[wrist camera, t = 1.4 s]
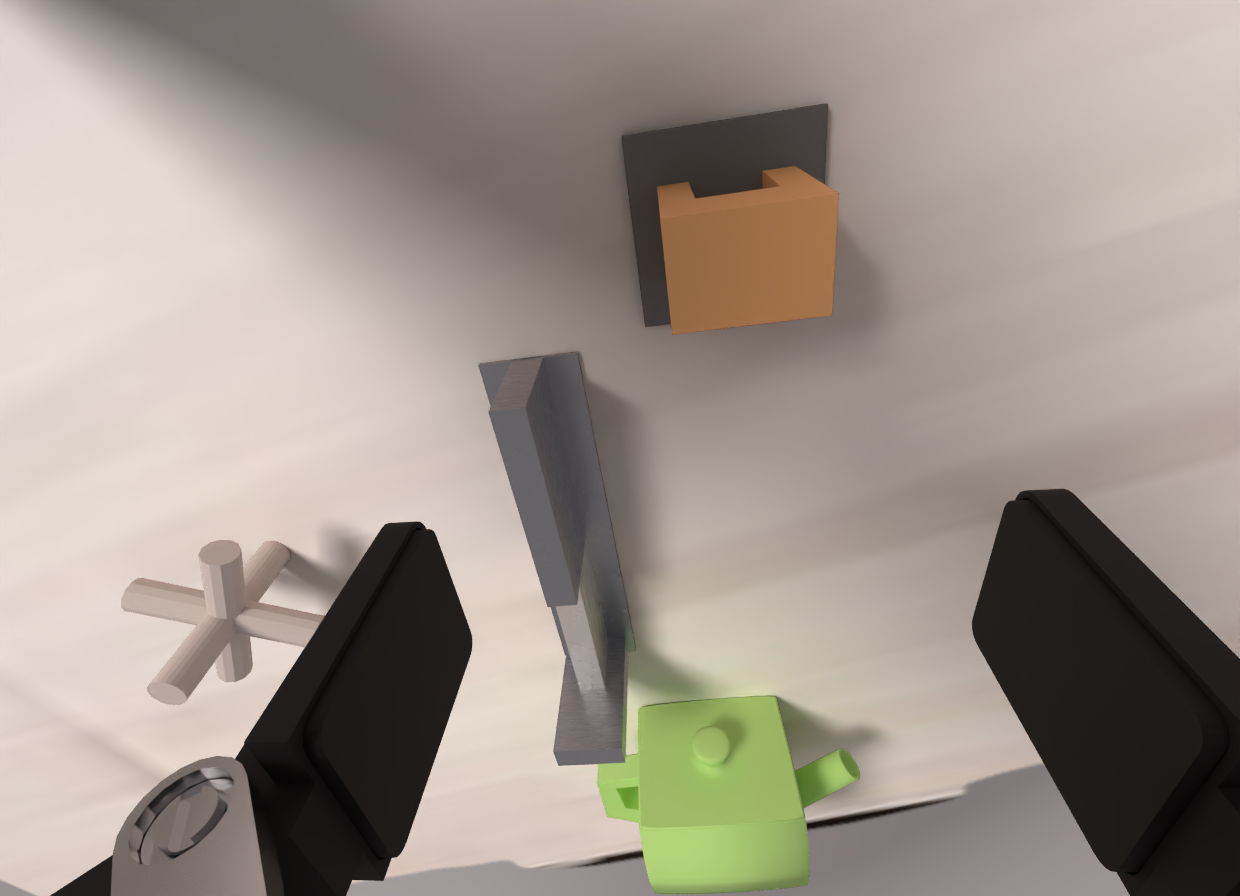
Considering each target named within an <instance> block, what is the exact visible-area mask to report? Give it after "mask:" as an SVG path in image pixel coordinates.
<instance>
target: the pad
mask: <svg viewBox="0 0 1240 896" xmlns="http://www.w3.org/2000/svg"><path fill="white" fill-rule="evenodd" d="M827 114H828V104H820V105H814V106H807V107H801V108H795V109H789V110H782V111H776V112H770V113H763V114H757V115H751V116H745V117H738V118H732V119H726V120H720V121H713V122H707V123H701V124H694V125H688V126H682V127H676V128H669V129H663V130H657V131H651V132H644V133H638V134H632V135H625V136H622V145H623V153H624V161H625V169H626V177H627V185H628V193H629V201H630V209H631V217H632V224H633V232H634V240H635V248H636V256H637V264H638V272H639V280H640V288H641V296H642V304H643V312H644V320H645V327H649V326H657V325H665V324H671V319H670V309H669V300H668V291H667V281H666V271H665V261H664V251H663V241H662V232H661V222H660V212H659V202H658V192H657V186H664V185H670V184H677V183H684V182H689V185H690V187H691V190H692V192H693V195H694V197H695V199H696V198H703V197H710V196H717V195H724V194H731V193H738V192H744V191H751V190H758V189H763V185H762V171H764V170H771V169H778V168H784V167H791V166H796V167H798V168H799V169H801V170H802V171H804V172H806V173H807V174H809V175H810V176H812V177H814V178H815V179H817V180H818V181H820V182H822V183H823V184H825V162H826V138H827Z"/></svg>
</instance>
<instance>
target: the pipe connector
mask: <svg viewBox="0 0 1240 896" xmlns="http://www.w3.org/2000/svg"><path fill="white" fill-rule="evenodd" d="M289 559H290V552H289V550H288V549H287V548H286V547H285V546H284V545H282V544H280V543H277V542H273V541H268V542H265V543H263V544H262V545H261V546H260V548H259V549H258V550H257V551H256V553H255V554H254V555H253V556H252V558H251V559H250V560H249V561H248V563H247V564H246V565H245V566H244V567H243V562H242V552H241V548H240V546H239V544H237V543H235V542H233V541H231V540H219V541H215V542H211V543H209V544H207V545H206V546H204V547H203V548H202V549H201V551H200V553H199V562H200V568H201V575H202V581H203V587H204V591H202V590H197V589H192V588H187V587H183V586H178V585H173V584H168V583H163V582H159V581H154V580H149V579H144V578H137V579H136V580H135V581H133V582H132V583H131V584H130V585H129V586H128V588H127V589H126V590H125V592H124V595H123V597H122V600H121V607H122V608H123V610H124V611H128V612H133V613H138V614H143V615H148V616H153V617H158V618H163V619H168V620H173V621H178V622H183V623H188V624H193V625H197V626H196V627H195V628H194V629H193V631H192V632H191V633H190V634H189V636H188V637H187V638H186V639H185V641H184V642H183V643H182V644H181V646H180V647H179V648H178V649H177V651H176V652H175V653H174V654H173V655H172V657H171V658H170V659H169V660H168V662H167V663H166V664H165V665H164V667H163V668H162V669H161V670H160V672H159V673H158V674H157V675H156V677H155V678H154V679H153V680H152V682H151V683H150V684H149V685H148V687H147V691H148V693H149V694H150V695H151V696H152V697H153V698H155V699H156V700H158V701H160V702H163V703H166V704H170V705H180V704H183V703H185V702H186V700H187V699H188V698H189V696H190V695H191V693H192V692H193V691H194V689H195V688H196V687H197V685H198V684H199V682H200V681H201V680H202V678H203V677H204V676H205V674H206V673H207V671H208V670H209V669H210V667H211V666H212V665H213V663H214V662H215V664H216V671H217V674H218V677H219V679H221V680H223V681H225V682H236V681H238V680H241V679H243V678H245V677H246V676H247V675H248V674H249V673H250V672H251V669H252V666H253V662H252V652H251V642H250V636H252V637H257V638H262V639H267V640H272V641H277V642H282V643H287V644H292V645H297V646H302V647H306V645H307V644H308V642H309V641H310V639H311V637H312V636H313V634H314V633H315V631H316V630H317V628H318V627H319V625H320V623H321V622H322V620H323V619H324V617H325V616H322V615H317V614H312V613H307V612H302V611H298V610H293V609H288V608H283V607H278V606H274V605H269V604H264V603H259V602H258V601H259V600H260V599H261V597H262V596H263V594H264V593H265V592H266V590H267V589H268V588H269V586H270V585H271V583H272V582H273V581H274V579H275V578H276V577H277V575H278V574H279V572H280V571H281V570H282V568H283V567H284V566H285V564H286V563H287V561H288V560H289Z"/></svg>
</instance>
